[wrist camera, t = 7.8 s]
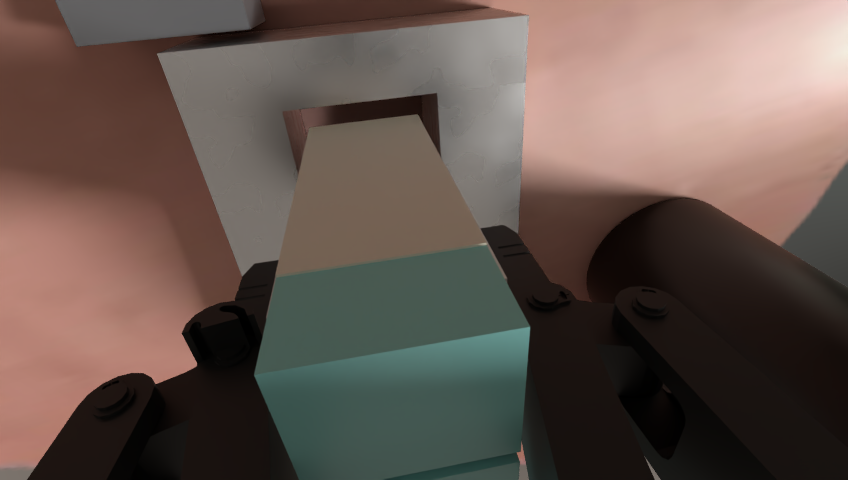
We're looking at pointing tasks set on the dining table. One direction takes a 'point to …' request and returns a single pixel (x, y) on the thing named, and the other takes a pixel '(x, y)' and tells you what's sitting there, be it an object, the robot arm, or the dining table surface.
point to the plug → (390, 319)
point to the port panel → (342, 84)
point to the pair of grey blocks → (155, 18)
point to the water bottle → (739, 297)
